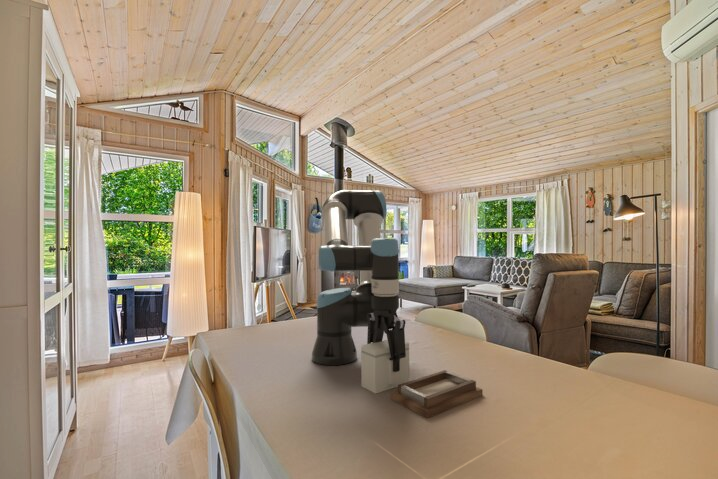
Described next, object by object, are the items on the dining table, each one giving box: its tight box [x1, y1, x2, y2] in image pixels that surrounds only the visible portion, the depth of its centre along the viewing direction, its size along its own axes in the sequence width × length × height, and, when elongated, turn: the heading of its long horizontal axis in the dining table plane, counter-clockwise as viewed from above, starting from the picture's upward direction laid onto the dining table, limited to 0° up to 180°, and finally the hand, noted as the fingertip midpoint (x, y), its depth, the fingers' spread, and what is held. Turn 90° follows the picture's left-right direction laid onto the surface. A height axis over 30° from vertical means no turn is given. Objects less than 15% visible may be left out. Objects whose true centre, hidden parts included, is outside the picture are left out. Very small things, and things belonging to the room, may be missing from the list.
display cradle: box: [390, 369, 484, 419], centre depth 89 cm, size 12×20×4 cm, turn 126°
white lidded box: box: [360, 339, 410, 395], centre depth 97 cm, size 6×12×11 cm, turn 126°
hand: (385, 379), depth 97 cm, fingers closed on white lidded box, 6 cm apart
